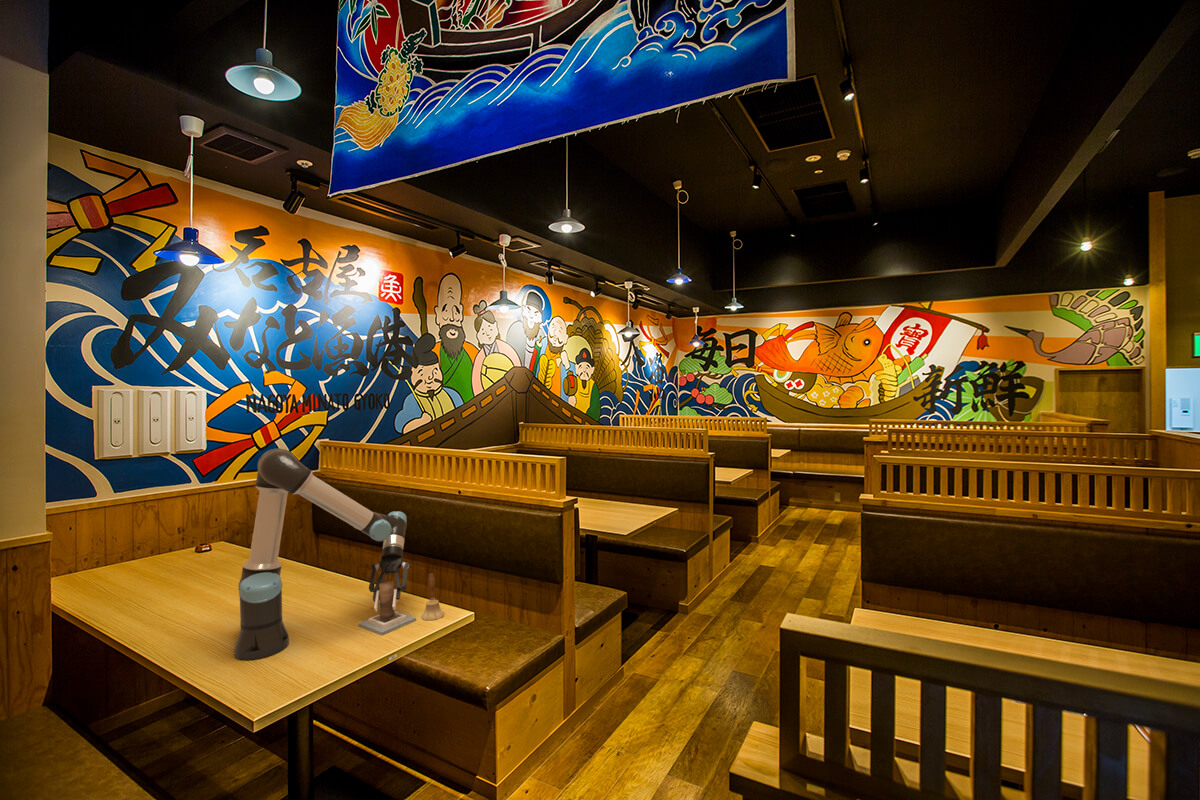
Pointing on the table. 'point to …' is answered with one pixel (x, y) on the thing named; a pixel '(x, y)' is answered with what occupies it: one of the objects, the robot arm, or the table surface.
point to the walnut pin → (386, 599)
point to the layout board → (386, 623)
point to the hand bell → (432, 603)
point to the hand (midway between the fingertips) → (385, 608)
